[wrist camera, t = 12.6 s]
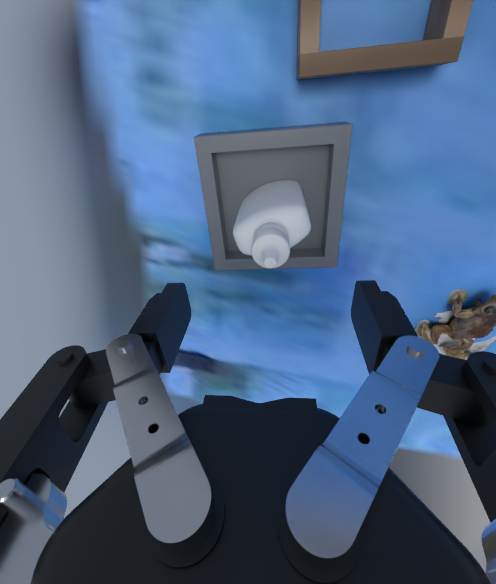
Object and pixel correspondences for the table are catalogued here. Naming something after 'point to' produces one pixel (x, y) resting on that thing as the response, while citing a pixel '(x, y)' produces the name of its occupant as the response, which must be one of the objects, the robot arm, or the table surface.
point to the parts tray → (268, 168)
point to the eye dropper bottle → (272, 222)
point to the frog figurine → (461, 327)
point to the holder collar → (430, 52)
